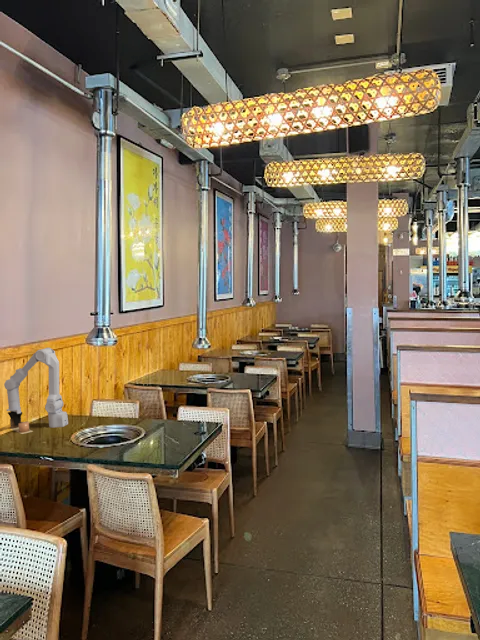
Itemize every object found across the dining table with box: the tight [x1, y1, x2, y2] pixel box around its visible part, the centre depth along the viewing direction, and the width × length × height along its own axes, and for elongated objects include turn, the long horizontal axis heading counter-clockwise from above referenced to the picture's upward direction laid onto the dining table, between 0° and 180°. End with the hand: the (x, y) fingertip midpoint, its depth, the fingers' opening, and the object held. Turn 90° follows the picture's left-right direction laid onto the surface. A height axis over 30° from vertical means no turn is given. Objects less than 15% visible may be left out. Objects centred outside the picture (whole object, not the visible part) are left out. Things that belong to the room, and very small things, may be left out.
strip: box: [9, 417, 34, 435], centre depth 264 cm, size 20×6×6 cm, turn 42°
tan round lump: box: [18, 421, 30, 432], centre depth 260 cm, size 5×5×4 cm
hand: (16, 424), depth 269 cm, fingers open, 3 cm apart
